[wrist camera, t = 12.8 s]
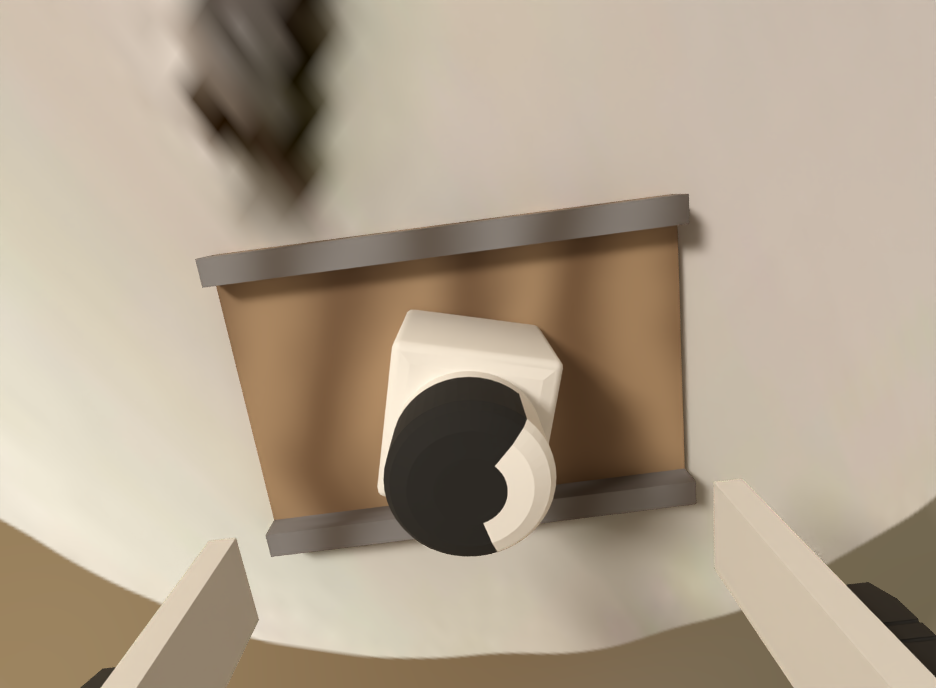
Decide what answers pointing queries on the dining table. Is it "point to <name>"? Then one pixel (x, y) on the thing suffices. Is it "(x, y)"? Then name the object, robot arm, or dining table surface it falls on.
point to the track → (474, 295)
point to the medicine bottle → (469, 431)
